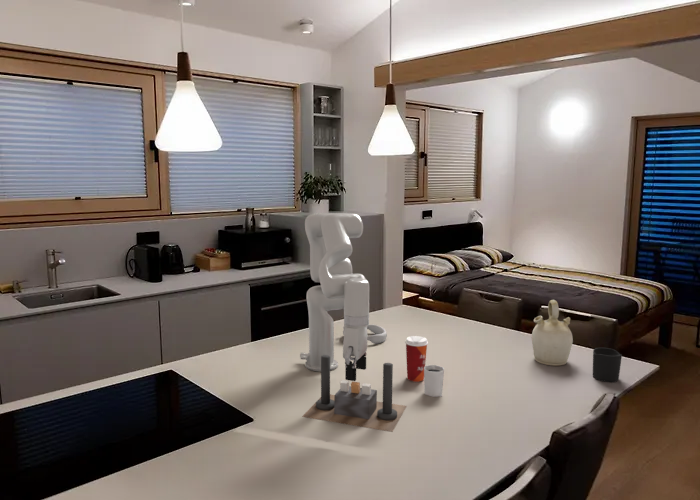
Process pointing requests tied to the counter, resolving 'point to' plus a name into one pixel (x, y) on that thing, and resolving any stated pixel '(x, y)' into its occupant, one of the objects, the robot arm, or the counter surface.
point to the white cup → (433, 380)
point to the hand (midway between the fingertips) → (356, 374)
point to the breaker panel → (357, 420)
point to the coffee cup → (416, 357)
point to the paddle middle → (355, 387)
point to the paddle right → (366, 389)
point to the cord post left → (325, 385)
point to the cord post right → (387, 395)
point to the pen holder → (606, 364)
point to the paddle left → (344, 385)
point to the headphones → (377, 330)
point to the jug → (552, 338)
